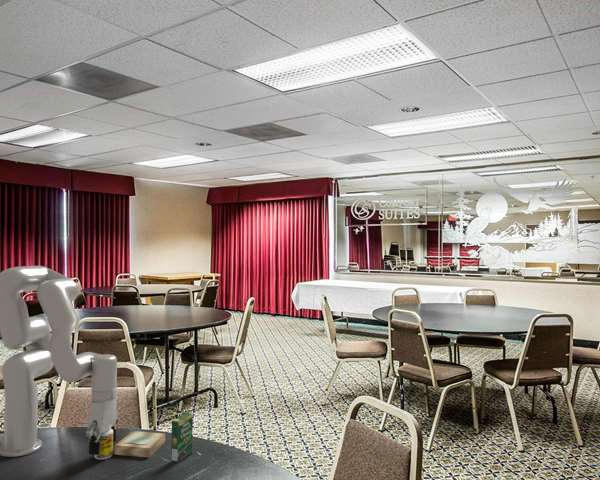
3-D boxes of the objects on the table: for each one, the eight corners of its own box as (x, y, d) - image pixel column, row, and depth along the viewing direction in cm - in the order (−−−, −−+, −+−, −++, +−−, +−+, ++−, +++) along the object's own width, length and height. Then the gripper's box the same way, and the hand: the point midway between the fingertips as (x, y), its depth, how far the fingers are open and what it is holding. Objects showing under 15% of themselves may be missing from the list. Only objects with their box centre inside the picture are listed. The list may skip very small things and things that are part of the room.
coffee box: (177, 463, 151) (178, 421, 151) (170, 461, 152) (171, 420, 153) (192, 453, 159) (193, 413, 159) (185, 451, 160) (186, 412, 160)
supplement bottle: (95, 461, 151) (96, 429, 151) (92, 455, 156) (93, 423, 156) (114, 457, 154) (115, 425, 154) (110, 451, 159) (111, 420, 159)
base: (114, 454, 157) (114, 444, 157) (132, 439, 169) (132, 430, 169) (149, 457, 155) (149, 447, 155) (165, 442, 167) (165, 433, 167)
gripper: (107, 385, 164) (106, 436, 164) (77, 402, 147) (75, 458, 147) (128, 387, 163) (127, 437, 163) (100, 403, 146) (98, 460, 146)
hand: (102, 447), depth 155 cm, fingers open, 9 cm apart
